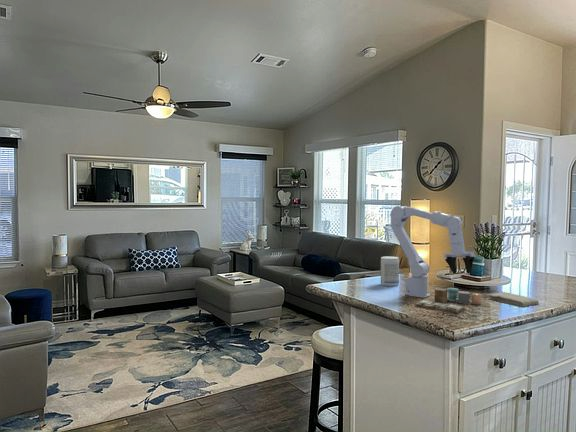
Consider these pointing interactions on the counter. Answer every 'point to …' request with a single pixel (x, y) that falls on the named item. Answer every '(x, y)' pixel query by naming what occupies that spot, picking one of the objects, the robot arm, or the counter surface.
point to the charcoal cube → (463, 297)
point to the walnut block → (441, 295)
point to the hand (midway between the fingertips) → (461, 273)
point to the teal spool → (452, 294)
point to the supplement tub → (390, 271)
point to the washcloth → (513, 299)
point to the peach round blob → (476, 298)
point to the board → (440, 306)
